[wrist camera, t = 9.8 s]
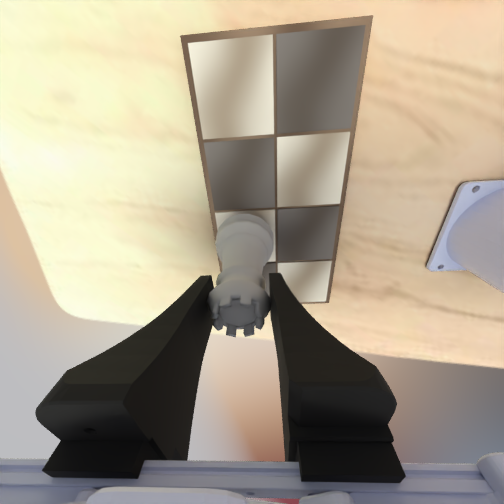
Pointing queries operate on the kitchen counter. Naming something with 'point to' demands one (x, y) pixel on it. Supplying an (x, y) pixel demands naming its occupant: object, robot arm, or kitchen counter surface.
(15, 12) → the kitchen counter surface
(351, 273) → the kitchen counter surface
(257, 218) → the rook chess piece
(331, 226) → the game board
